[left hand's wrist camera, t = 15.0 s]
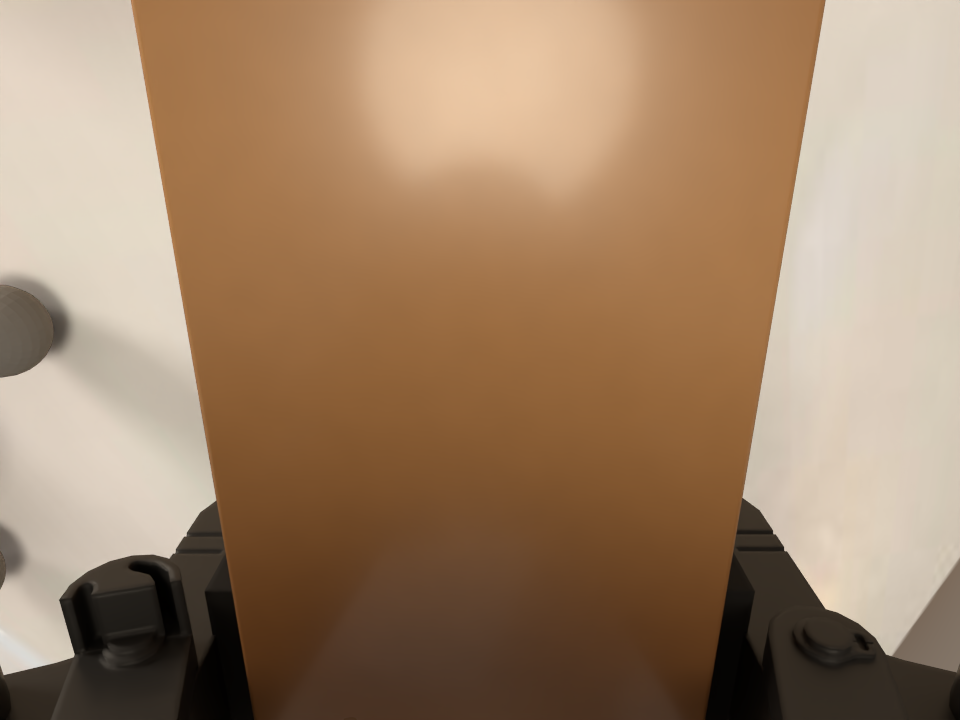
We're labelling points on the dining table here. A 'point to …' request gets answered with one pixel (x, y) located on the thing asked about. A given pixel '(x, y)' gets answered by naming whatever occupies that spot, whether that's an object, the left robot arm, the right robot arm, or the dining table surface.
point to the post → (478, 334)
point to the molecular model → (21, 340)
